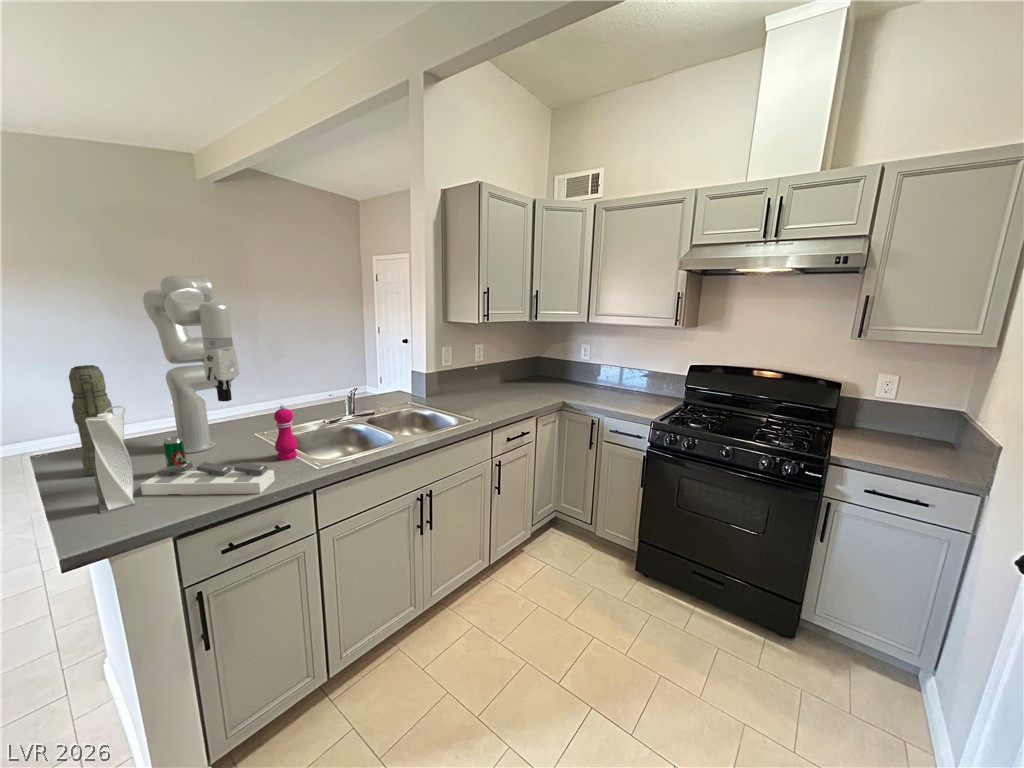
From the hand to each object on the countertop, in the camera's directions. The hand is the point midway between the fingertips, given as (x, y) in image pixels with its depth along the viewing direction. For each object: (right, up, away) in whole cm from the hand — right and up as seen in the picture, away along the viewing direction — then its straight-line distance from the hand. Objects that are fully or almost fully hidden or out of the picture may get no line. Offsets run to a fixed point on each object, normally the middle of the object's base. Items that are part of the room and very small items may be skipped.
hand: (225, 400), depth 130 cm
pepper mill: (+9, -22, +20) cm, 31 cm away
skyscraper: (-18, -29, -16) cm, 37 cm away
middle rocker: (-1, -22, -4) cm, 22 cm away
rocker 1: (-12, -22, -5) cm, 25 cm away
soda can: (-19, -24, +4) cm, 31 cm away
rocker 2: (+10, -22, -3) cm, 24 cm away
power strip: (-1, -27, -5) cm, 27 cm away
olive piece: (-43, -24, +4) cm, 49 cm away
